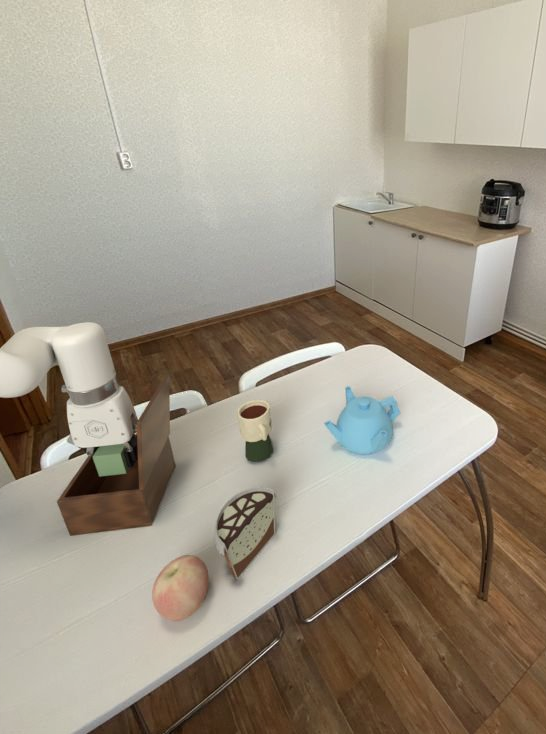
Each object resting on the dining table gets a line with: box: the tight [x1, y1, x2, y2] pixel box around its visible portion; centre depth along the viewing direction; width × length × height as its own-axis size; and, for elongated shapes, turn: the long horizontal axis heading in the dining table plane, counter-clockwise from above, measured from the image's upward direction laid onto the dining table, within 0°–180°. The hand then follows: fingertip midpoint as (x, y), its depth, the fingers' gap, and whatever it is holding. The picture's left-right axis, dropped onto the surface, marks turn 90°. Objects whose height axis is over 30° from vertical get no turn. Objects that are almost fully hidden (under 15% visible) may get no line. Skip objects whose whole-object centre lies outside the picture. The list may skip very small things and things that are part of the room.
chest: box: [56, 435, 176, 537], centre depth 78 cm, size 15×15×9 cm
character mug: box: [236, 399, 274, 463], centre depth 88 cm, size 11×7×13 cm, turn 37°
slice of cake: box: [213, 486, 278, 581], centre depth 68 cm, size 12×6×10 cm, turn 149°
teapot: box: [323, 385, 401, 456], centre depth 93 cm, size 15×15×11 cm
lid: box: [136, 373, 171, 490], centre depth 75 cm, size 15×15×1 cm
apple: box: [151, 554, 210, 622], centre depth 60 cm, size 8×8×8 cm
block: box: [93, 444, 129, 477], centre depth 76 cm, size 5×5×5 cm
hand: (118, 463), depth 77 cm, fingers closed on block, 5 cm apart
